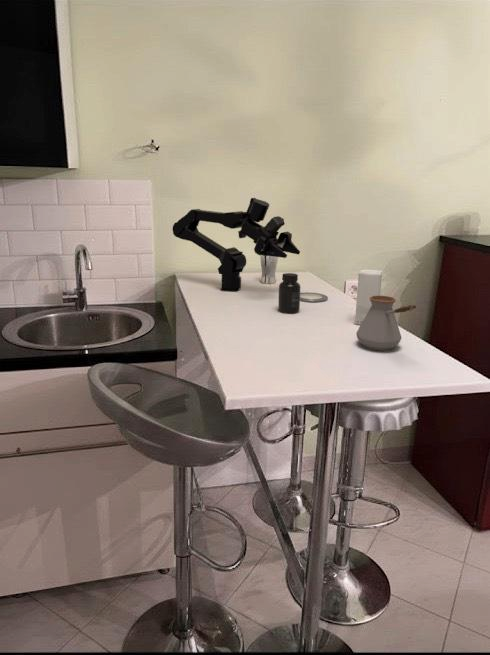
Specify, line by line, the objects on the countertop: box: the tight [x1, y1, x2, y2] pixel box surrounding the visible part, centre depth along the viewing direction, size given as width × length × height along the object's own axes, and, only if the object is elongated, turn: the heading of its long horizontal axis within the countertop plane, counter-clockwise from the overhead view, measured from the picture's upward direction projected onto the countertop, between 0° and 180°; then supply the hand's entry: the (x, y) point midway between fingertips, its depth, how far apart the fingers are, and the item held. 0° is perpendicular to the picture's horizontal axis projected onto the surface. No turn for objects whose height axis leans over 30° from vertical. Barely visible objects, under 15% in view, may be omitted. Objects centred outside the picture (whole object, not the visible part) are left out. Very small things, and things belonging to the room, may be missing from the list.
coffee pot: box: [355, 295, 420, 352], centre depth 128 cm, size 21×12×15 cm, turn 13°
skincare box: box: [354, 268, 383, 326], centre depth 153 cm, size 8×7×16 cm
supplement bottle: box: [277, 272, 301, 314], centre depth 163 cm, size 7×7×12 cm
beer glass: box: [259, 255, 279, 285], centre depth 202 cm, size 7×7×15 cm
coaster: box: [300, 291, 329, 303], centre depth 182 cm, size 12×12×1 cm
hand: (293, 254), depth 173 cm, fingers open, 9 cm apart
